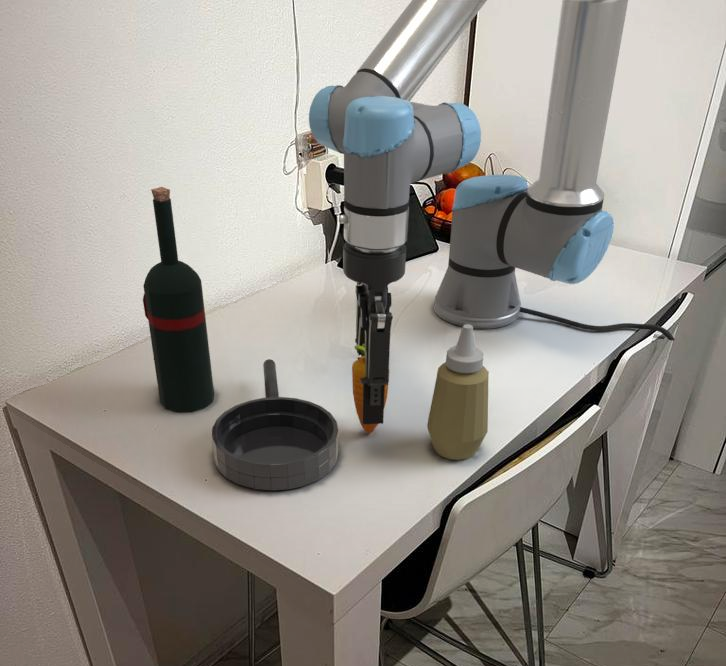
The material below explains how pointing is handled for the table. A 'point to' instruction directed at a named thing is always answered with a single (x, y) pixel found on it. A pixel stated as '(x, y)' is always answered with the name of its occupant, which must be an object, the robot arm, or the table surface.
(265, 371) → the pan handle
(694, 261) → the table surface
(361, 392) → the carrot
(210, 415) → the table surface
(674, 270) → the table surface
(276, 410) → the pan
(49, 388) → the table surface
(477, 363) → the squeeze bottle
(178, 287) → the wine bottle
